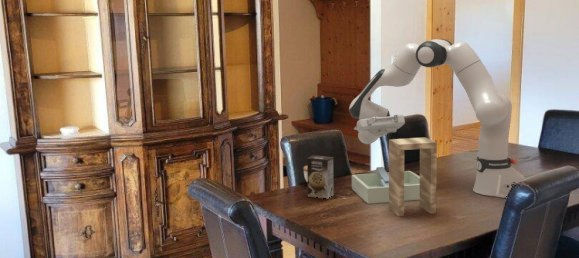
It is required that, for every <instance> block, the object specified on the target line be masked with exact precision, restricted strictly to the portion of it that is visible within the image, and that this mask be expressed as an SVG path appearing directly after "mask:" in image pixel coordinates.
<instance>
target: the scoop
mask: <svg viewBox="0 0 579 258" xmlns="http://www.w3.org/2000/svg"><path fill="white" fill-rule="evenodd" d="M375 173H377V174H378V176H379V177H380V185H379V186H380V187H385V186H389V175H388V174H387V170H386V169H385V167H384V166H378V167H376V169H375Z"/></svg>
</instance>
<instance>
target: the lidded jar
mask: <svg viewBox="0 0 579 258" xmlns="http://www.w3.org/2000/svg"><path fill="white" fill-rule="evenodd" d="M303 176H304V179H305V181H306V183H308V171H307V165H304V166H303Z"/></svg>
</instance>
